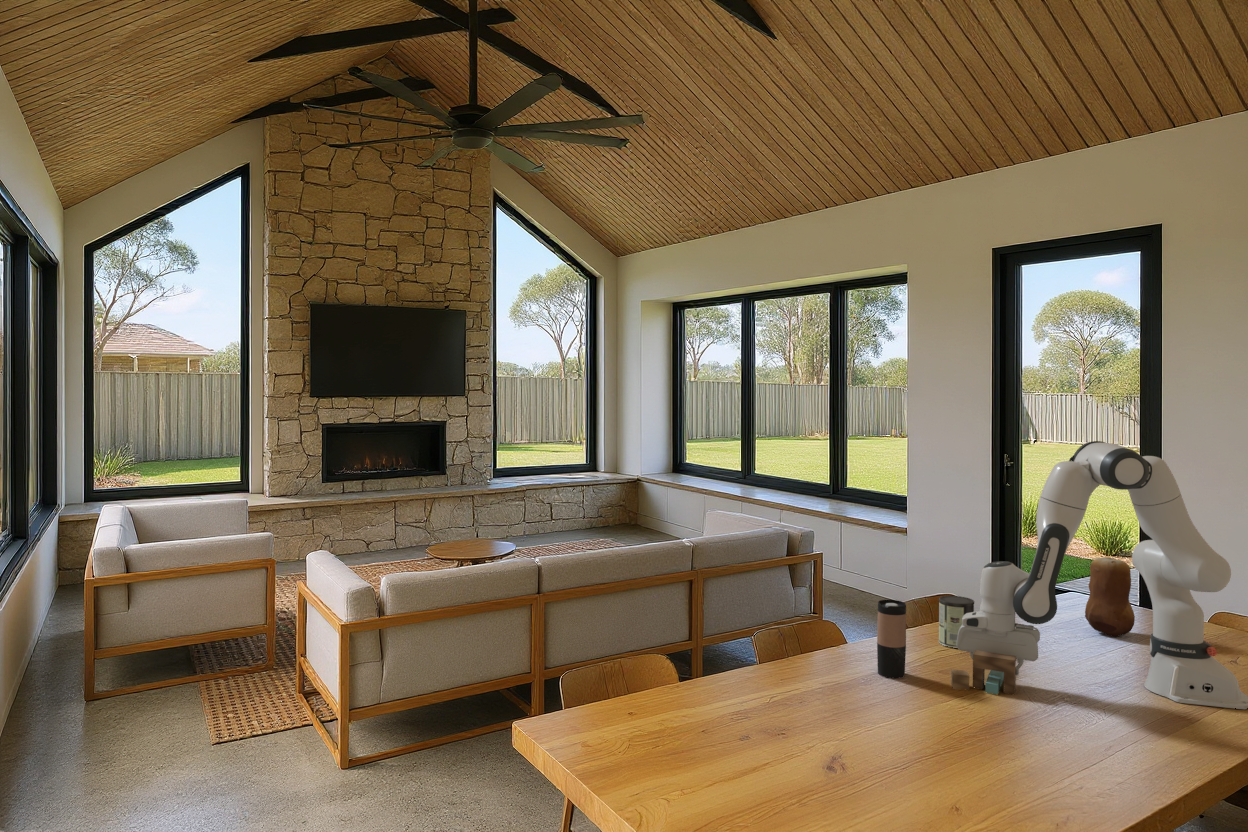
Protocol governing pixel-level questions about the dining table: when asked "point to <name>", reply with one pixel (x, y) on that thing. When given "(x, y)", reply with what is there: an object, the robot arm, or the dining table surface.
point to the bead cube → (959, 679)
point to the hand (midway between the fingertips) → (996, 671)
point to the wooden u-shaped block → (994, 668)
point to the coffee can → (952, 617)
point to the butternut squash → (1110, 597)
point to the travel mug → (891, 638)
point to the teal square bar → (994, 682)
